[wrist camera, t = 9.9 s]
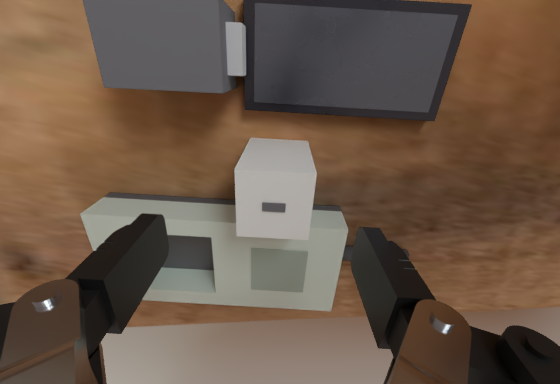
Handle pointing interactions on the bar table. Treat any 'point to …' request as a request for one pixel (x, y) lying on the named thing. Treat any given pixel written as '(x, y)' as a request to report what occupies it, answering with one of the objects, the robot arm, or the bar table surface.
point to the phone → (351, 56)
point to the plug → (167, 44)
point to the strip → (231, 253)
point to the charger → (275, 189)
